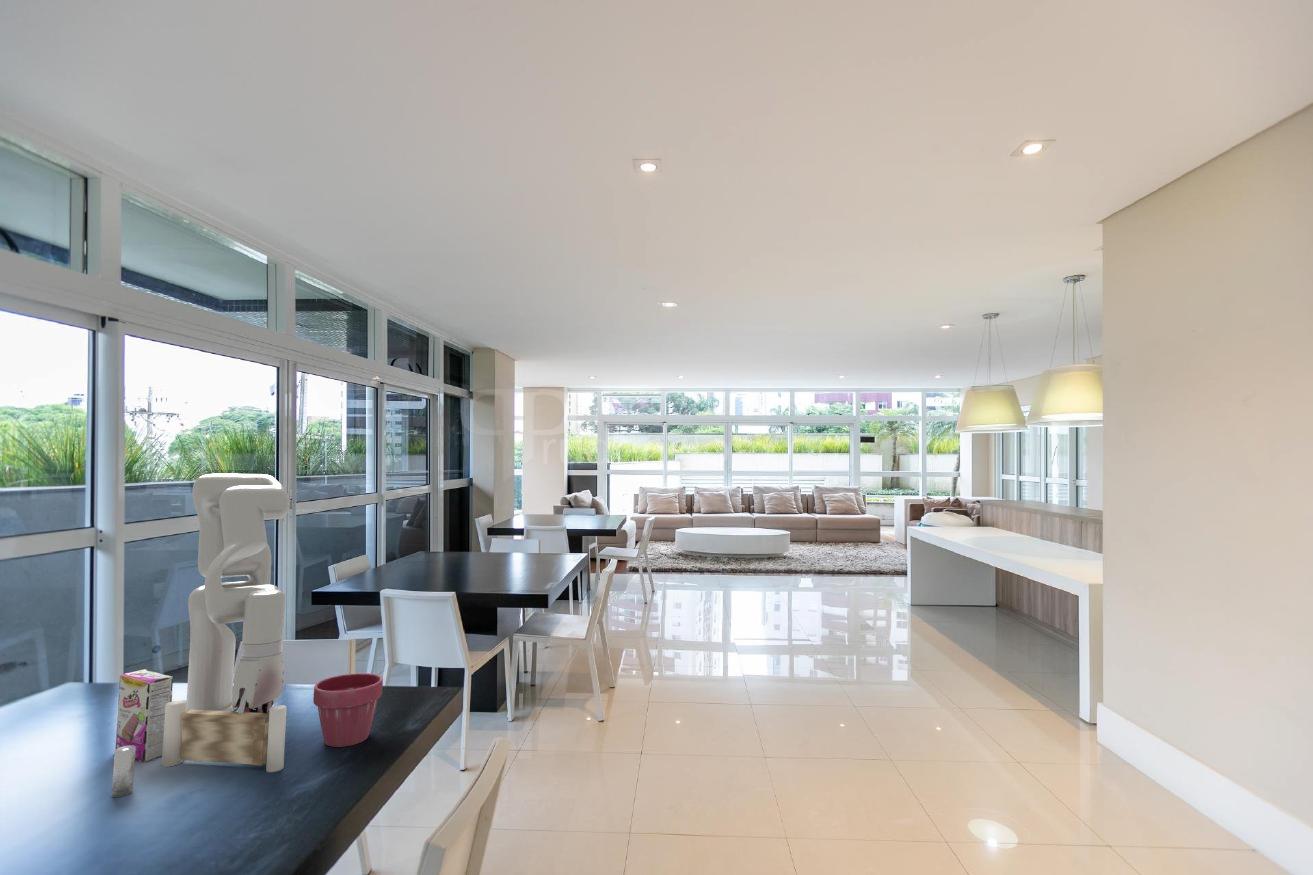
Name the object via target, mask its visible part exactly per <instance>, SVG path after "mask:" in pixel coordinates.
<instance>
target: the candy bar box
mask: <svg viewBox="0 0 1313 875" xmlns="http://www.w3.org/2000/svg"><path fill="white" fill-rule="evenodd" d="M173 684H174V676H173V675H172V676H171V675H168V674H164V673H159V672H156V671H153V670H148V669H145V668H144V669H140V670H135V671H130V672H126V673H123V674H120V675H119V686H118V687H119V688H118V703H117V723H116V737H115V750H116V749H118V748H120V747H124V746H130V745H133V746H136V750H135V761H136V760H137V761H139V762H142V763H146V762H150V761H153V760H155V759H159V758H162V751H163V736H164V721H165V706H166V703H168V702H171V701H173ZM115 750H114V751H115Z"/></svg>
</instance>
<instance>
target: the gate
mask: <svg viewBox="0 0 1313 875" xmlns="http://www.w3.org/2000/svg"><path fill="white" fill-rule="evenodd" d="M182 720H183V727H182V743H181V758H180V760H183V761H192V762H193V761H194V762H209V763H223V764H224V763H225V764H243V765H252V766H263V765H265V764H267V746H268V728H269V713H251V712H245V713H238V711H212V710H193V709H191V710H188V711H186V712H184V713H182Z"/></svg>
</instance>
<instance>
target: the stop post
mask: <svg viewBox="0 0 1313 875" xmlns="http://www.w3.org/2000/svg"><path fill="white" fill-rule="evenodd" d="M115 749H116V748H115ZM135 750H136V746H133V745H130V746H124V747H120V748H118V749H116V750H114V755H113V771H112V785H111V786H112V787H111V797H112V798H120V797H121V798H122V797H125V796H128V795H131V794H132V793H133V790H134V779H135V778H134V777H135V776H134V775H135V761H136V759H135ZM131 792H132V793H131Z"/></svg>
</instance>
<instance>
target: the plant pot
mask: <svg viewBox="0 0 1313 875" xmlns="http://www.w3.org/2000/svg"><path fill="white" fill-rule="evenodd" d="M383 680H384V678H383V676H381V675H380V674H376V673H367V672H366V673H359V672H358V673H347V674H346V673H345V674H339V675H334V676H331V677H327V678H324V679H322V680H320V681H318V682H316V683H315V685H314V687H313V699H312V700H313V702H312V703H313V704H314V706H316V707H317V710H318V716H319V724H320V727H321V732H322V733H321V734H322V738H323V742H324V744H325V745H326V746H329V747H335V748H337V747H338V748H339V747H340V748H342V747H349V746H354V745H357V744H359V743H363V742H364V741H366V740H367V739H368V738H369V735H370V732H371V729H372V728H371V727H372V725H373V720H374V717H375V712H376V708H377V705H378V704H377V703H378V699H380V698H381V697H382V695H383V687H384V686H383V685H384V684H383V683H384V681H383Z"/></svg>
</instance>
